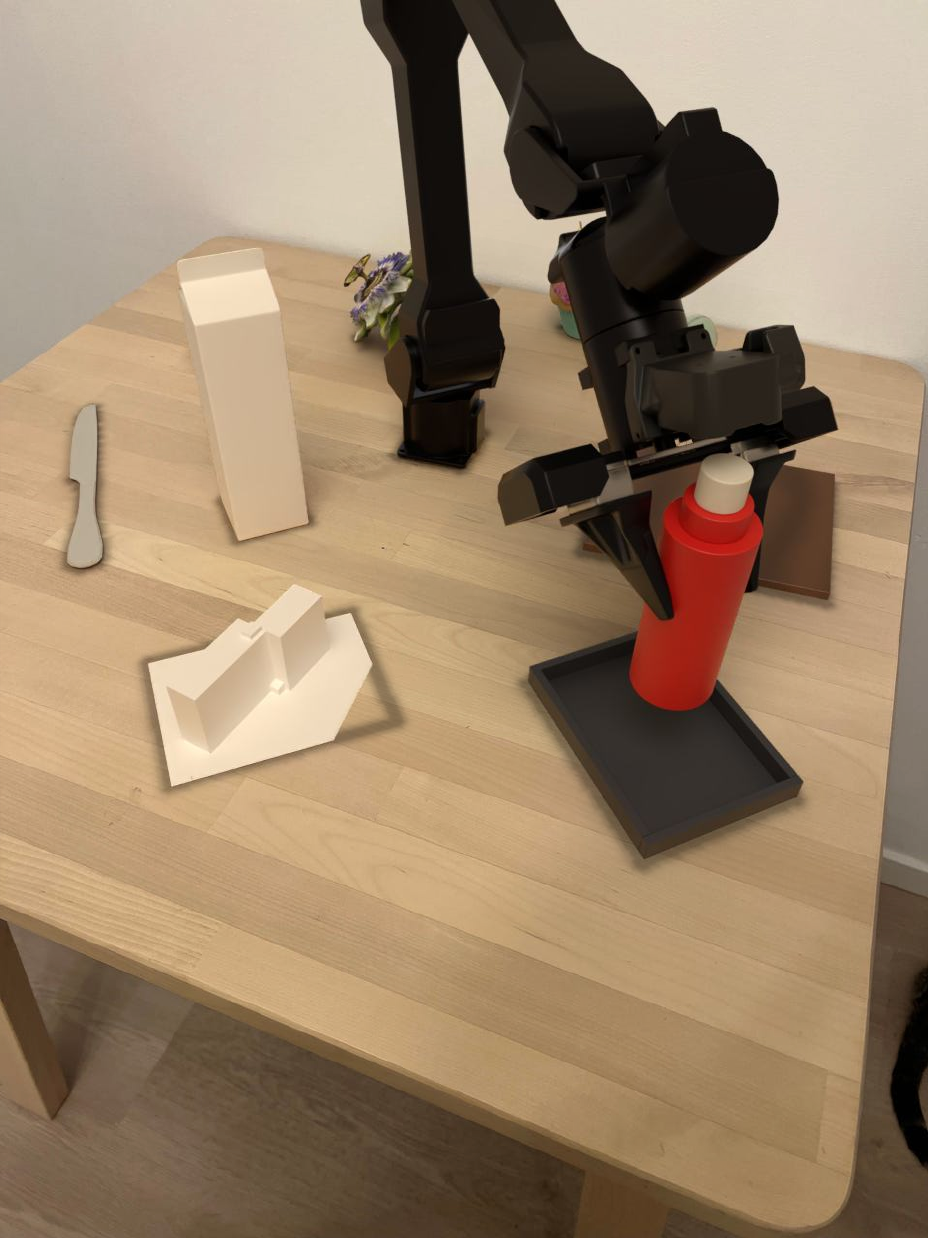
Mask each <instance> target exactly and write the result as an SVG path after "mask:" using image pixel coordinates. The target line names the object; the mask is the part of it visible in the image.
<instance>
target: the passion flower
mask: <svg viewBox="0 0 928 1238" xmlns="http://www.w3.org/2000/svg"><path fill="white" fill-rule="evenodd" d="M370 259H371V253H369V252H368V253H367V254H365V255H364V256H362V257H361V258H360V259H359V260H358V262H356V264H354V265H352V268H351V270H350V271H349V273H348V274H347V275H346V277H345V278H344V282H343V287H344V288H347V287H349V286H350V285H351V284H352V283H354V282H357V280H358V278H362V279H363V280H364V282H363V285H361V286H360V287H359V290H358V292H357V293H355V294H354V295H353V302H354V303H355V305H354V307H353V308H352V309H351V310H350V311H349V314H350V315H349V317H350V318H352V322H351V324H354V325H355V326H357V327H358V330H357V331H356V333H355V336H354V338H353V341H354V342H355V343H359V342H362V341H363V340H365V339H366V338H368V337H369V335H370V334H371V332H372V330H373V329H374V328H376V327H377V326H379V334H380V336H381V339H383V340H386V339H387V348H388V351H389V350H390V349H391V348H392V346H393V345H394V343H395V342H396V341H397V339H398V338H399V322H398V313H396V314H395V316H393V315H394V313H395V311H396V310H397V308H398V307H400V306H401V304H402V301H403V299H404V297H405V295H406V292H407V290H408V288H409V285H410V283H411V281H412V279H413V264H412V255H411V249H409V252H408V254H405V253H403V252H402V251H397V252H396V253H395V252H392V254H388V255H387V256H383V259H382V260H381V261H380V260H379V259H377V260H376V262H377V265H376V268H374V270H370V272H369V273H368V274H366V273H365V271H364V270H365V268H366V265H367V262H368V261H370ZM388 329H389V333H387V332H388ZM387 334H388V337H387Z"/></svg>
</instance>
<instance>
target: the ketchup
mask: <svg viewBox="0 0 928 1238" xmlns="http://www.w3.org/2000/svg"><path fill="white" fill-rule="evenodd" d="M753 475H754V471H753V468H752V466H751V465H750V464H749V463H748V462H747V461H746V460H744V459H743V458H741V457H738V456H736V455H732V454H725V453H719V454H713V455H710V456H708V457H706V458H705V459H704V460H703V461H702V463H701V467H700V471H699V475H698V479H697V482H695V483H693V484H691V485H690V486H689V487H688V488H687V489H686V490H685V492H684V496H681V497H679V498H677V499H675V500H674V501H672V502H671V503H670V504H669V505H668V506H667V507H666V509H665V511H664V514H663V518H662V523H661V528H660V532H659V537H658V541H657V546H656V547H657V550H658V554H659V557H660V560H661V563H662V567H663V570H664V573H665V577H666V580H667V583H668V586H669V590H670V594H671V599H672V605H673V611H674V618H673V619H670V620H665V621H661V620H659V619H658V618H657V616H656V615H655V614H654V613H653V612H652V610H651V609H650V608H649V607H648V605H647V604H646V603H645V602H644V601H643V605H642V606H643V607H642V610H641V615H640V619H639V625H638V630H637V631H638V634H637V638H636V643H635V647H634V652H633V657H632V661H631V666H630V672H629V675H630V681H631V683H632V686H633V687H634V689H635V690H636V692H637V693H638V694H639V695H640V696H641V697H642V698H643V699H644V700H646V701H647V702H649V703H651V704H653V705H655V706H657V707H660V708H663V709H667V710H674V711H683V710H690V709H693V708H696V707H698V706H700V705H702V704H703V703H705V702H706V701H707V700H708V699H709V697H710V696H711V694H712V692H713V689H714V686H715V683H716V680H717V679H718V677H719V674H720V671H721V667H722V664H723V661H724V658H725V655H726V651H727V648H728V645H729V642H730V639H731V636H732V634H733V633H732V632H733V629H734V627H735V623H736V620H737V618H738V617H737V616H738V614H739V611H740V608H741V605H742V601H743V598H744V595H745V593H744V592H745V589H746V586H747V583H748V580H749V577H750V574H751V570H752V567H753V564H754V561H755V558H756V555H757V552H758V549H759V545H760V542H761V539H762V535H763V527H762V523H761V521H760V519H759V517H758V516H757V515H756V513H755V512H754V501H753V498H752V497H751V495H750V494H749V493H748V492H749V489H750V485H751V482H752V478H753Z"/></svg>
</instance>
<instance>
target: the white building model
mask: <svg viewBox="0 0 928 1238" xmlns="http://www.w3.org/2000/svg"><path fill="white" fill-rule="evenodd" d="M357 626H358V625H357V624H356V622H355V619H354V617H353V615H352V613H351V612H349V613H345V614H340V615H336V616H332V617H329V618H326V615H325V608H324V600H323V595H321V594H319V593H316V592H314V591H312V590H310V589H308V588H305V587H304V586H300V585H298V584H296V583H294V584H292V586H290V587H289V588H288V589H287V590H286V591H285V592H284V593H283V594H282V595H281V596H280V597H279V598H278V599H277V600H276V601H275V602H274V603H272V604H271V606H270V607H268V608H267V609H266V610H265V611H264V612H263V613H261V615H260V616H259V617H258V618H257V619H256V620H254V621H249V622H248V621H245V620H243V619H241V618H239V617H238V618H237V619H236V620H234V621H233V622H232V623H231V624H230V625H228V627H227V628H226V629H225V630H224V631H223V632H221V633H220V635H218V636H217V637H216V638H215V639H214V640H213V641H212V642H211V643H209V645H208V646H207V647H205V648H204V649H200V650H196V651H193V652H189V653H184V654H181V655H176V656H172V657H168V658H165V659H161V660H157V661H152V662H148V663H147V667H148V671H149V677H150V682H151V687H152V692H153V697H154V702H155V707H156V713H157V718H158V724H159V728H160V734H161V737H162V744H163V748H164V754H165V759H166V765H167V770H168V775H169V779H170V785H171V787H175V786H179V785H182V784H186V783H190V782H193V781H197V780H200V779H203V778H206V777H210V776H213V775H218V774H221V773H224V772H227V771H232V770H234V769H235V770H236V769H238V768H241V767H245V766H248V765H253V764H255V763H256V764H257V763H259V762H263V761H267V760H269V759H273V758H277V757H280V756H284V755H287V754H290V753H295V752H298V751H301V750H305V749H309V748H312V747H315V746H319V745H322V744H325V743H329V742H334V741H335V739H336V737H337V735H338V733H339V731H340V729H341V727H342V724H343V723H344V721H345V719H346V718H347V715H348V714H349V711H350V709H351V707H352V706H353V704H354V701H355V699H356V697H357V696H358V694H359V691H360V690H361V687H362V686H363V684H364V682H365V680H366V679H367V676H368V675H369V672H370V670H371V669H372V666H373V665H374V664H373V662H372V660H371V657H370V655H369V652H368V650H367V648H366V645H365V643H364V641H363V638H362V636H361V634H360V631H359V629H358V627H357Z"/></svg>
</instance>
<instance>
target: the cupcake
mask: <svg viewBox="0 0 928 1238" xmlns="http://www.w3.org/2000/svg"><path fill="white" fill-rule="evenodd" d="M578 223H579V228H578V229H577V231H578V230H581V229H582V228H583V226H582V225H583V224H582V221H581V220H579V221H578ZM549 284H550V285H549V292H548V293H549V294H548V295H549V298H550V301H551V303H552V304H553V305H554V306H557V308H558V311H559V315H560V319H561V324H562V328H563V331H564V333H565V334H566V335H568V336H569V337H571V338H572V339H573V338H574V339H577V340H580V337H579V333H578V330H577V326H576V323H575V319H574V315H573V312H572V308H571V305H570V301H569V298H568V294H567V290H566V287H565V283H564V282H561V283H556V284H551V283H549Z"/></svg>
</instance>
